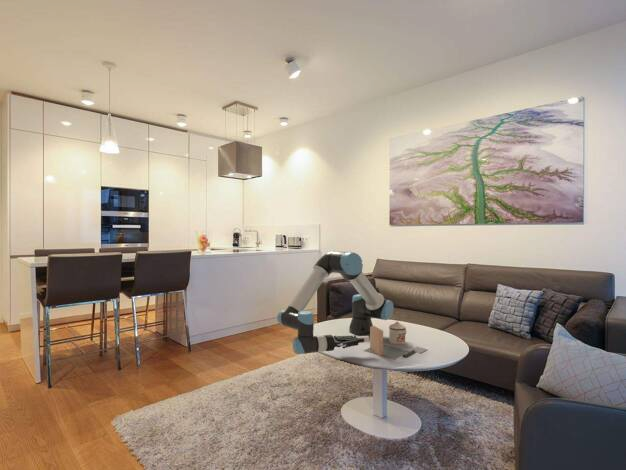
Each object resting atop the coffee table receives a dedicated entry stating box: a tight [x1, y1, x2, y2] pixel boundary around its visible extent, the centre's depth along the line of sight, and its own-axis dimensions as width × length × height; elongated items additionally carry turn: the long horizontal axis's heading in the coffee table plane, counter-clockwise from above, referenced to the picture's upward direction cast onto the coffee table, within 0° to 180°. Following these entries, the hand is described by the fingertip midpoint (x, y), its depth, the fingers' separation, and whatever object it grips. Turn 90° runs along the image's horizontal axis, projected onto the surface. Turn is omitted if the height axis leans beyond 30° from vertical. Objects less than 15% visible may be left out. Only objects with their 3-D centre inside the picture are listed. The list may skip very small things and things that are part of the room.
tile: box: [369, 325, 384, 356], centre depth 177 cm, size 3×9×12 cm, turn 18°
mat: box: [363, 343, 410, 360], centre depth 179 cm, size 18×16×1 cm
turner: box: [402, 346, 428, 359], centre depth 177 cm, size 20×6×2 cm, turn 138°
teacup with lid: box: [388, 321, 407, 345], centre depth 195 cm, size 12×9×12 cm
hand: (368, 338), depth 175 cm, fingers closed
